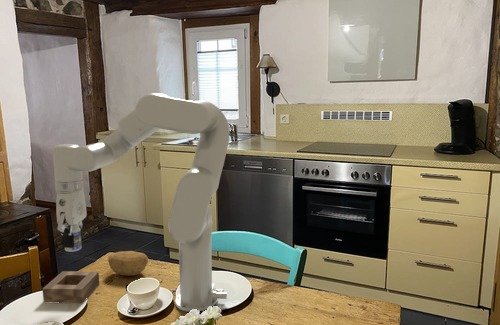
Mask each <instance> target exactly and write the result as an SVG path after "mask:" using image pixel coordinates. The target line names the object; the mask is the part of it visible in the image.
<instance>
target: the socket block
mask: <svg viewBox="0 0 500 325" xmlns="http://www.w3.org/2000/svg"><path fill="white" fill-rule="evenodd" d="M99 286H100V275H99V271H76V270H75V271H73V270H72V271H71V270H70V271H68V270H67V271H65V270H63V271H60V273H59V274H58V275H57V276H55V277H54V278H53V279H52V280H51V281H49V283H48V284H46V285H45V286H44V287H42V298H43V303H44V302H59V303H58V304H84V303H85V302H84V300H85V299H86V298H87V299H88V298H90V296H91V295H92V294H93V292H94V291H95V290H96V289H97V288H98V287H99ZM87 299H86V300H87ZM86 300H85V301H86ZM83 302H84V303H83Z"/></svg>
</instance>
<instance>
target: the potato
mask: <svg viewBox="0 0 500 325" xmlns="http://www.w3.org/2000/svg"><path fill="white" fill-rule="evenodd" d="M148 260H149V258H148V256H147V255H146V254H145V253H143V252H139V251H135V250H126V251H118V252H114V253H112V254H111V255H110V256H108V260H107V262H108V265H109V267H110V269H111V270H112V271H113V272H114V273H115V274H117V275H121V276H130V277H131V276H137V275H139V274H141V273H142V272H143V271H144V270H145V269H146V266H147V265H148Z"/></svg>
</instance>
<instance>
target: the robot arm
mask: <svg viewBox="0 0 500 325" xmlns="http://www.w3.org/2000/svg"><path fill="white" fill-rule="evenodd" d="M160 129H161V130H167V131H171V132H172V131H173V132H177V133H182V134H189V135H197V134H199V139H198V142H197V145H196V148H195V152H194V157H193V159H192V160H193V161H192V164H191V165H190V166H191V167H190V169H189V170H188V171H186V172H185V173H184V174H183V175H182V176H181V178H180V179H179V181H178V183H177V186H176V189H175V193H174V198H173V201H172V205H171V210H170V214H169V217H168V222H167V223H168V224H167V226H168V227H167V228H168V231H169V233H170V236H171V238H173V240H174V241H176V242H178V263H179V265H178V266H179V267H178V268H179V269H178V270H179V292H180V293H178V295H176V297H175V298H174V299H175V300H174V303H175V306H176V308H177V309H179V310H180V311H183V312H187V313H190V312H189V311H190V310H192V309H197V310H200V311H202V312H205V311H204V310H206V309H207V308H208V307H209V306H214V305H215V304H216V305H217V303H218V299H220V300H226V299H228V292H227V291H224V290H225V289H224V288H216V287H215V283H213V271H212V269H213V268H212V267H213V266H212V265H213V264H212V251H213V250H212V235H213V234H212V233H213V211H212V208H211V206H210V203H211V200H212V197H213V196H214V195H215V194H216V193H217V190H218V189H219V184H220V180H221V175H222V171H223V167H224V164H225V160H226V155H227V152H228V147H229V143H230V142H229V141H230V126H229V123H228V120H227V118H226V116H225V114H224V112H222V110H221V109H220V108H219V107H218V106H216V104H214V103H212V102H210V101H206V100H195V101H193V100H189V99H188V100H186V99H181V98H176V97H175V98H174V97H171V96H170V95H168V94H165V93H155V92H154V93H153V92H152V93H148V94H147V93H146V94H144V95H143V96H141V97H140V98H139V99H138V100H137V103H136V105H135V108H134V109H132V110H131V111H129V112H128V113H127V114H125V115H124V116H122V117H121V118H119V120H117V127H116V129H115V130H114V131H113V132H111V133H110V134H109V135H107V136H106V137H105V138H103V139H102V140H100V141H98V142H96V143H95V142H94V143H90V144H87V145H82V146H79V145H78V144H75V143H64V144H63V143H62V144H57V145H55V146H54V147H53V150H52V156H53V158H52V159H53V170H54V173H53V174H54V184H55V185H54V187H55V193H56V199H55V201H56V203H55V206H56V211H55V212H56V213H55V214H56V223H57V224H58V225H57V231H59V232H60V235H61V238H62V240H61V241H62V247H63V248H64V249H65V248H73V247H74V234H72V228H73V226H74V225H76V224H77V223H79V228H80V229H81V242H82V241H83V239H84V238H83V225H84V224H83V221H84V219H86V218H87V215H88V214H87V212H88V211H87V204H86V203H87V202H86V196H85V191H84V183H83V182H84V181H83V179H84V178H83V172H84V173H89V172H90V173H91V172H93V171H96V170H98V169H101V168H105V167H107V166H109V165H111V164H112V163H114V162H116V161H117V160H118V159H120V158H122V157H123V156H124V155H126V154H127V153H129V151H131V150H132V149H133V148H135V147H136V146H137V145H138V144H140V143H141V142H143V141H144V140H146V139H147V138H149V137H150V136H152V135H153V134H155V132H158V131H159V130H160ZM65 223H68V224H65ZM65 227H69V230H68V229H67V228H65ZM178 298H179V299H178ZM216 302H217V303H216ZM216 305H215V306H216ZM215 306H214V307H215ZM206 311H207V310H206Z"/></svg>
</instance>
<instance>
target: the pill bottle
mask: <svg viewBox="0 0 500 325" xmlns="http://www.w3.org/2000/svg"><path fill="white" fill-rule="evenodd" d="M65 224H68V223H65ZM65 228H67V229H68V230H69V227H65ZM72 234H74V247H73V248H64V251H65V252H70V253H71V252H72V253H74V252H78V251H80V250H81V249H82V248H83V246H82V241H81V229H80V228H79V223H77V224H76V225H74V226H73V228H72Z"/></svg>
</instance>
